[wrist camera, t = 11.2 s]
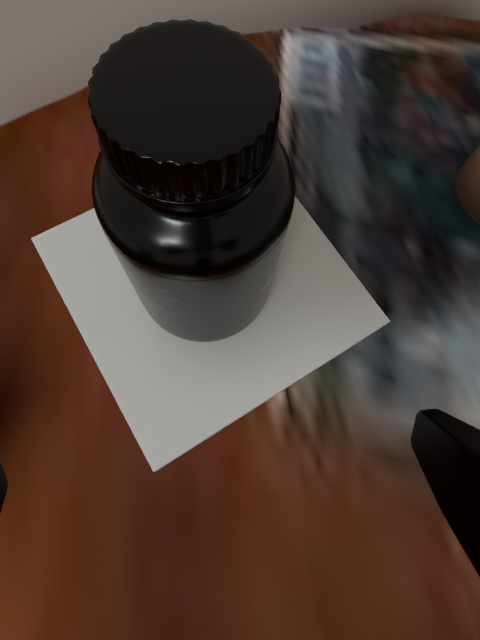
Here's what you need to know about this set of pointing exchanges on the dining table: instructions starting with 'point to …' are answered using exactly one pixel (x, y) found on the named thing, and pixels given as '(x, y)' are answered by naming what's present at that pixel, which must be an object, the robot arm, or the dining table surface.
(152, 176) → the supplement bottle
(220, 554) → the dining table surface
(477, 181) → the tan rounded piece
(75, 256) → the pad
